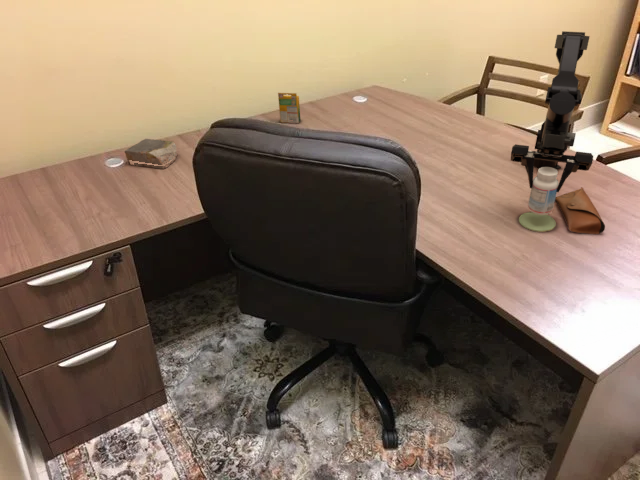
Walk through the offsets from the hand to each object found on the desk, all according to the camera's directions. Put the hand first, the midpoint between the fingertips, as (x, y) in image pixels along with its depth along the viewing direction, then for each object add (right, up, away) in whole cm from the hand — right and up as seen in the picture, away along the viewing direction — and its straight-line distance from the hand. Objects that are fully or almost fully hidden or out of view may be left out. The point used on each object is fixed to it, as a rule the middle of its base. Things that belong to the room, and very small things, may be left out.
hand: (544, 189), depth 133 cm
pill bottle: (+1, -5, +5) cm, 7 cm away
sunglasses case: (+12, -6, +9) cm, 16 cm away
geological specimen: (-112, +15, +49) cm, 123 cm away
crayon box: (-67, +33, +72) cm, 103 cm away
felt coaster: (+1, -8, +7) cm, 10 cm away
